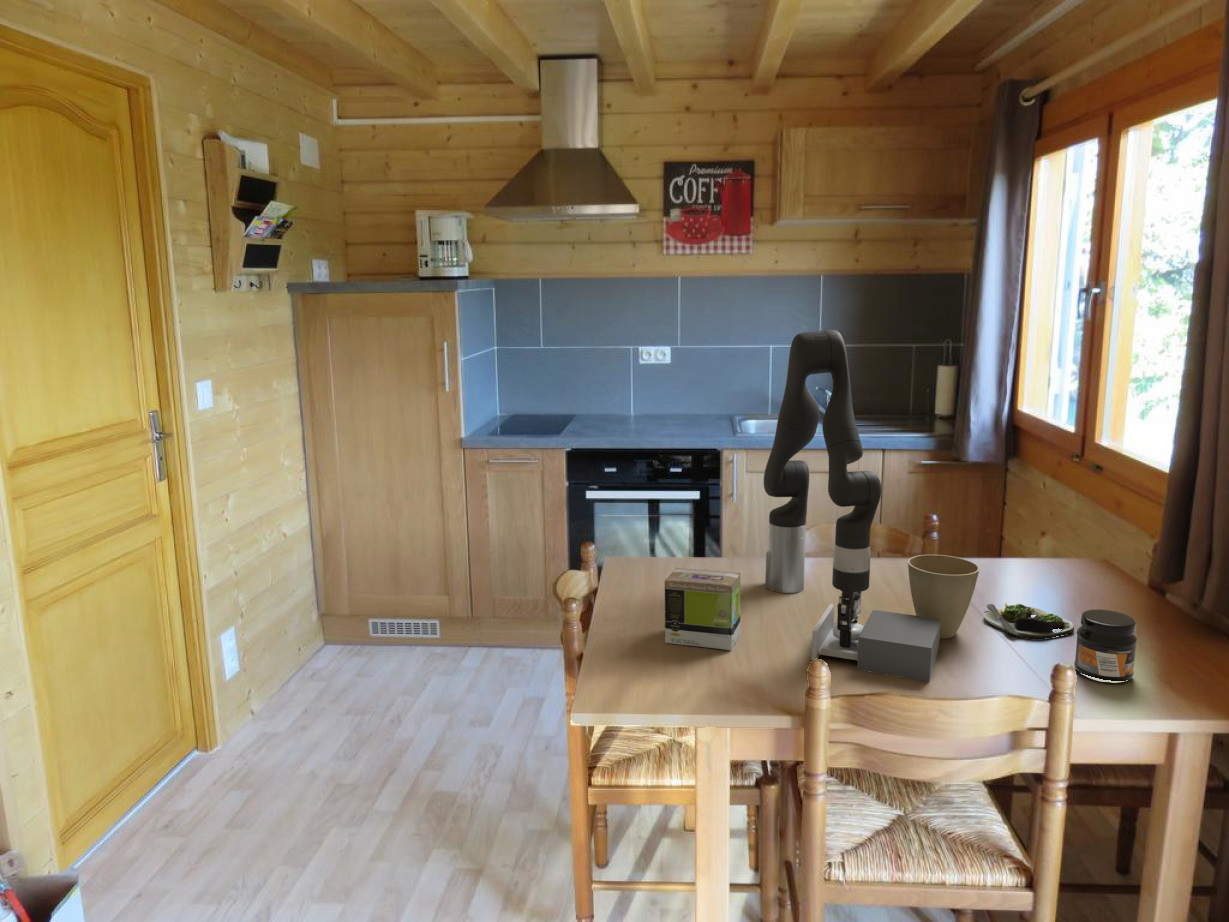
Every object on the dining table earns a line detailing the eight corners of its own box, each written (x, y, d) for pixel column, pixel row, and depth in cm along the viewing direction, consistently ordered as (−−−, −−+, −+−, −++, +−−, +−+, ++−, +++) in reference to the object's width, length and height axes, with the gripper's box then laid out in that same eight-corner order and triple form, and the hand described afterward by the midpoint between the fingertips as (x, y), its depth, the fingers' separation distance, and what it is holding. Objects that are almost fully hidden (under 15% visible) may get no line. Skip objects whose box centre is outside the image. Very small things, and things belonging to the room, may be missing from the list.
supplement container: (1107, 689, 174) (1113, 630, 172) (1061, 669, 184) (1066, 612, 182) (1145, 679, 179) (1151, 622, 176) (1098, 660, 188) (1103, 604, 186)
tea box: (740, 635, 203) (742, 571, 200) (731, 652, 194) (732, 586, 191) (675, 627, 208) (675, 565, 205) (663, 643, 199) (663, 579, 196)
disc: (861, 642, 189) (861, 634, 188) (830, 637, 191) (830, 629, 191) (866, 632, 194) (866, 623, 194) (836, 627, 197) (836, 619, 197)
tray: (811, 659, 188) (812, 630, 187) (828, 631, 203) (830, 604, 202) (880, 671, 182) (881, 641, 181) (892, 640, 198) (894, 613, 196)
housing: (857, 669, 184) (858, 637, 183) (871, 639, 200) (872, 609, 198) (929, 681, 179) (931, 648, 177) (938, 650, 194) (940, 619, 192)
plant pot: (940, 650, 194) (945, 578, 191) (889, 627, 207) (893, 560, 204) (989, 637, 200) (994, 568, 197) (937, 616, 213) (941, 550, 210)
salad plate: (959, 615, 214) (961, 597, 213) (1019, 606, 220) (1021, 588, 219) (1021, 646, 196) (1023, 625, 196) (1085, 634, 202) (1087, 615, 202)
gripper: (863, 577, 182) (859, 656, 185) (875, 558, 195) (872, 632, 198) (825, 573, 185) (822, 650, 188) (840, 554, 198) (837, 627, 201)
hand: (848, 640), depth 193 cm, fingers closed on disc, 6 cm apart
